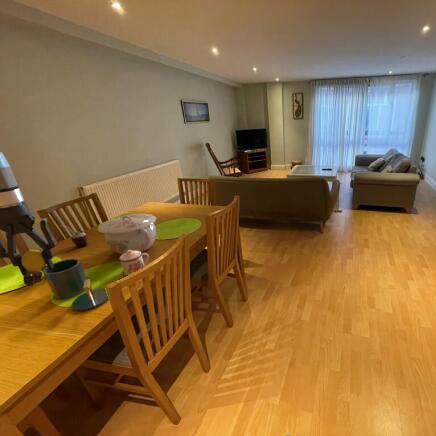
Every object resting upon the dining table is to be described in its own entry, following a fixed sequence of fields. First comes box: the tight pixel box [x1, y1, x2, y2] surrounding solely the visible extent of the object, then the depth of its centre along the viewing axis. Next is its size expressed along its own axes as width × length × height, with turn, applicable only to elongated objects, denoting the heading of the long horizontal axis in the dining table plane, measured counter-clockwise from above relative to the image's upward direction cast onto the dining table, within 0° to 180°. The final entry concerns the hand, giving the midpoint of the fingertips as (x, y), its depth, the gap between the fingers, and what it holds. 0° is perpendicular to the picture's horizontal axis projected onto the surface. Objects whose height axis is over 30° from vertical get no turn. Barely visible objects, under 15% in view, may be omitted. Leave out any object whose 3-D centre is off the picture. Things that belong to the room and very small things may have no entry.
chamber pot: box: [97, 213, 157, 255], centre depth 135 cm, size 28×28×21 cm
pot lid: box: [71, 278, 109, 311], centre depth 97 cm, size 13×13×8 cm
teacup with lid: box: [119, 250, 150, 276], centre depth 117 cm, size 12×9×12 cm
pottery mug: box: [22, 265, 48, 286], centre depth 111 cm, size 12×10×8 cm
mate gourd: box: [60, 224, 88, 249], centre depth 140 cm, size 8×8×15 cm
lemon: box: [21, 249, 47, 271], centre depth 78 cm, size 6×6×8 cm
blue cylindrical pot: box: [42, 258, 88, 300], centre depth 103 cm, size 12×12×13 cm
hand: (38, 270), depth 80 cm, fingers closed on lemon, 5 cm apart
